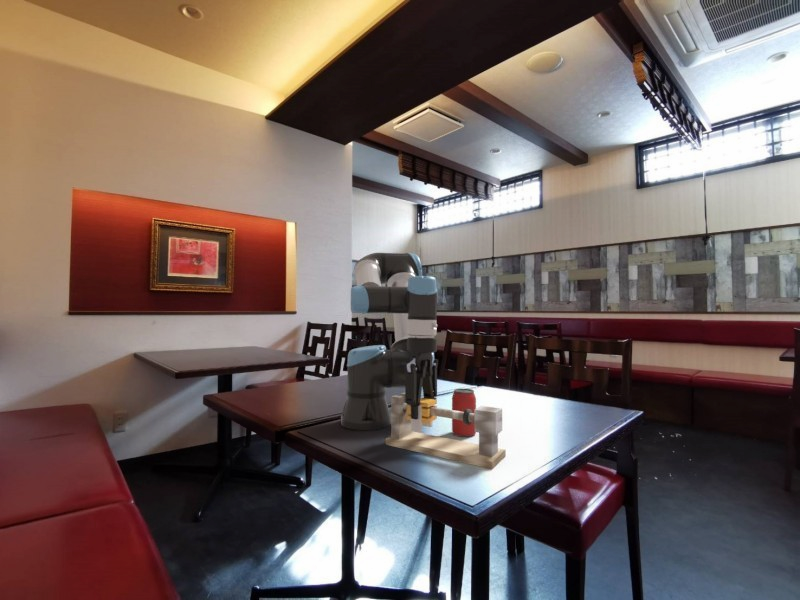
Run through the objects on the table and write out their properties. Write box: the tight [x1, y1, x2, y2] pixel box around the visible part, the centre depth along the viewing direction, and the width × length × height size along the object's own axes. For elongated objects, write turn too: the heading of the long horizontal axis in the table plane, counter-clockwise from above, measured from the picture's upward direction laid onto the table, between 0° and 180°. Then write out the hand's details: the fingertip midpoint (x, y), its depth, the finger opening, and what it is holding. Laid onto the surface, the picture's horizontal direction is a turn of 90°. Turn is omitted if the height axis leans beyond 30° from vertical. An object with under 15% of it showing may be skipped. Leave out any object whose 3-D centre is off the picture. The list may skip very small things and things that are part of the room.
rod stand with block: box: [385, 391, 507, 470], centre depth 94 cm, size 28×9×12 cm, turn 57°
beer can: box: [451, 388, 477, 438], centre depth 107 cm, size 7×7×12 cm
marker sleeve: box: [407, 397, 438, 423], centre depth 97 cm, size 6×5×5 cm
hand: (421, 428), depth 97 cm, fingers closed on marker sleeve, 5 cm apart
